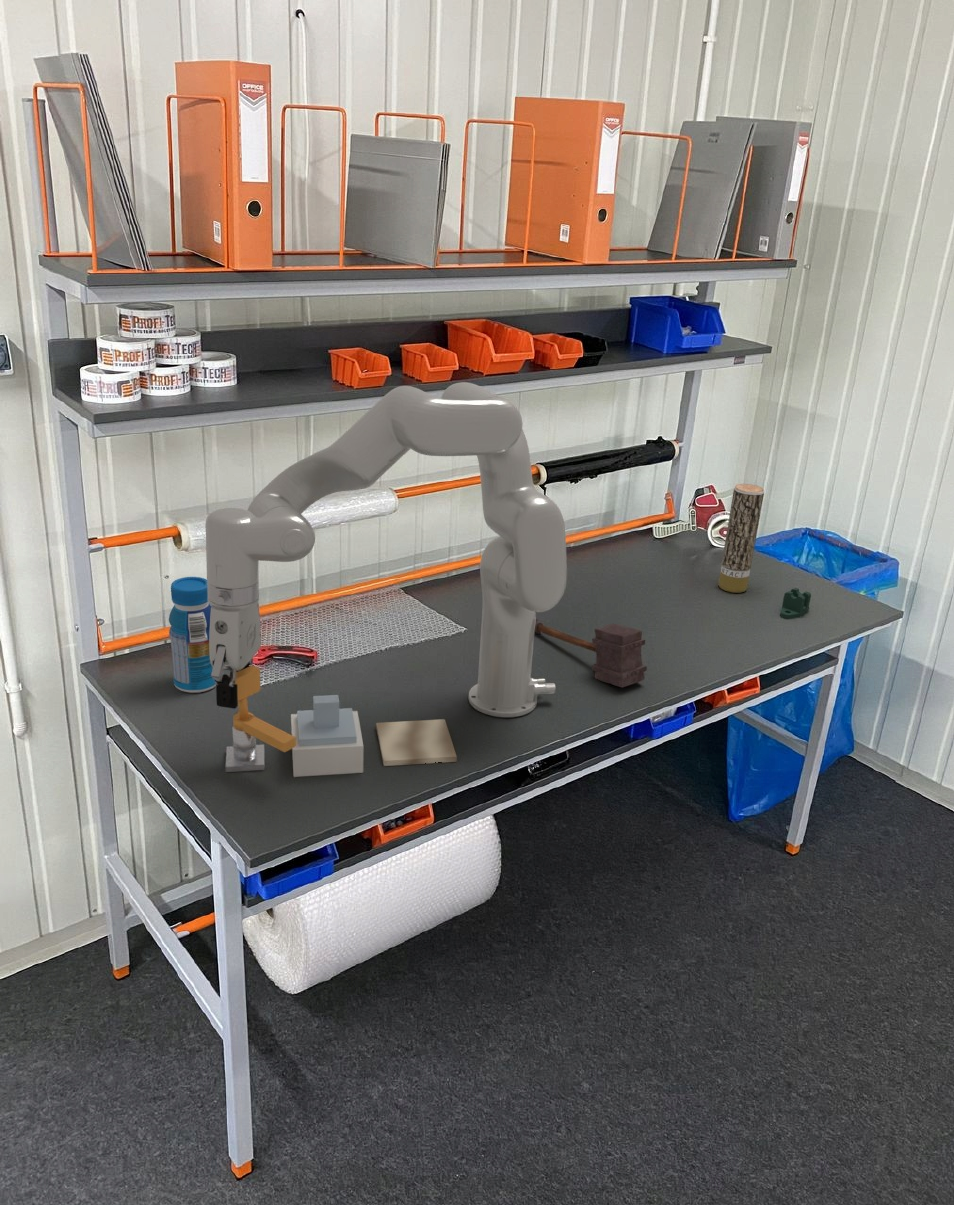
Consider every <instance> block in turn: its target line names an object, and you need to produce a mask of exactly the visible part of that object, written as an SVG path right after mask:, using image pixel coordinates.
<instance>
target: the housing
mask: <svg viewBox="0 0 954 1205" xmlns="http://www.w3.org/2000/svg"><path fill="white" fill-rule="evenodd" d="M352 711H353V718H354V724H355V730H356V736H357V743H347V744H329V745H311V746H299V735H298V720H297V713H291V714H290V723H291V725H290V726H291V727H290V730H291V731H290V732H291V734H290V735H292V736H294V737H296V746H295V747H293V748H292V749H291V751H292V752H291V754H292V769H293V771H292V772H293V774H292V775H293V778H298V777H312V776H313V777H314V776H330V775H345V774H346V775H347V774H360V773H361V774H363V773H364V743H363V742H364V741H363V737H362V735H363V734H362V730H361V724H360V718H359V712H358V710H352Z"/></svg>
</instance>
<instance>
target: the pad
mask: <svg viewBox="0 0 954 1205" xmlns="http://www.w3.org/2000/svg"><path fill="white" fill-rule="evenodd" d="M375 724H376V725H375V728H376V733H377V738H378V743H379V749H380V753H381V758H382V763H383V767H389V766H390V767H392V766H405V765H409V766H410V765H423V764H424V765H425V763H426V764H439V763H438V762H442V763H454V762H456V763H457V758H458V757H457V753H456V751H455V747H454V744H453V741H452V738H451V734H450V731H449V728H448V725H447V722H446V719H445V718H442V719H426V720H423V719H422V720H408V721H407V720H406V721H405V720H403V721H385V722H376V723H375ZM435 762H436V763H435Z"/></svg>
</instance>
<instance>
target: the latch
mask: <svg viewBox="0 0 954 1205" xmlns="http://www.w3.org/2000/svg"><path fill="white" fill-rule="evenodd" d="M249 666H250V667H247V668H245V669H243V670H241V671H239V672H236V678H235V684H237V691H238V706H237V707H238V712H236V713H235V714H233V716H232V720H233V722H232V723H233V724H234V728H235V729H236V730H239V731H244V732H246V733H248V734H250V735H252V736H254V737H256V739H258V740H260V741H261V742H263V743H265V744H267V745H269V746H272V747H273V748H274V749H275V748H276V750H279V751H281V752H283V753H286V752H288V751H291V750H292V748H293V747H295V746H296V737H294V736H292V735H291V734H290V733H288V732H287V731H285V730H282V729H280V728H278V727H277V726H274V725H272V724H270V723H269V722H267V721H264V720H262V719H260V718H258V717H256V716H255V715H254V714H253V713H252V712H249V709H248V697H251V696H253V695H255V694H256V693H259V692H261V669H260V667H258V666H256V665H253V664H252V665H249ZM228 676H229V677H230V675H228ZM233 724H232V725H233Z"/></svg>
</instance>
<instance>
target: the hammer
mask: <svg viewBox="0 0 954 1205" xmlns="http://www.w3.org/2000/svg"><path fill="white" fill-rule="evenodd" d="M534 633H536V634H540V633H543V634H544V635H548V636H550V637H552V638H555V639H558V640H561V641H563V642H565V643H569V644H571V645H574V646H577V647H581V648H583V649H586V650H589V651H591V652H594V653H595V654H596V655H595V658H596V659H595V663H593V664H591V670H592V671H594V677H595V678H596V679H595V678H594V679H595V680H597V679H598V680H597V681H600V682H604V683H607V684H611V685H612V686H616V687H618V688H619V687H620V688H625V687H628V686H631V685H634V684H636V683H639V682H643V681H644V680H645V679H646V677H645V672H647V670H648V668H647V667H648V666H647V665H643V659H642V646H644V645H646V639H644V638H642V635H643V631H642V630H639V629H636V628H631V627H627V626H624V625H620V624H618V623H617V624H616V623H610V624H606V625H604V626H601V627H598V628H594V633H595V637H593V638H591V642H589V641H587V640H584V639H582V638H578V637H575V636H573V635H570V634H567V633H564V632H562V631H559V630H557V629H554V628H551V627H549V626H546V625H544V624H543V623H542V622H541V621H540V620H539V619H537V618H536V622H535V631H534Z"/></svg>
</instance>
